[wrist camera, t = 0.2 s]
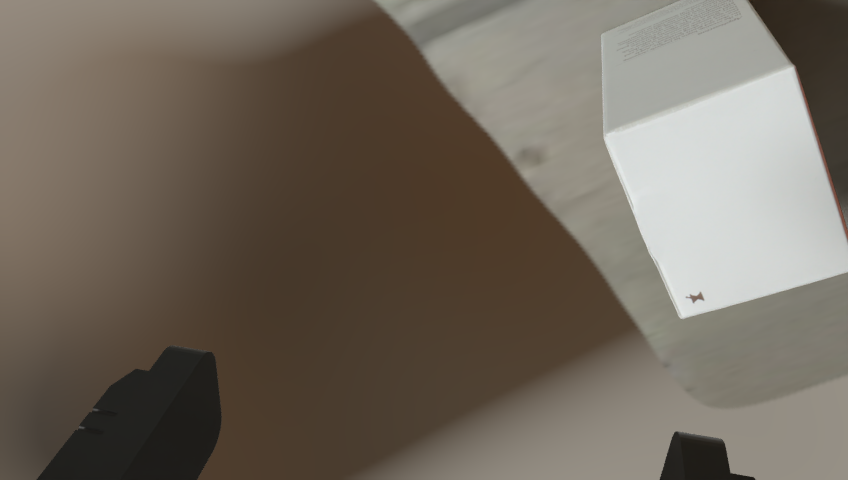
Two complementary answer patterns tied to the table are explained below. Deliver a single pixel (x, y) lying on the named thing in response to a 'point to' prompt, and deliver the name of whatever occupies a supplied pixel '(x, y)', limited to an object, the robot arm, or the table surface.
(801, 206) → the small box
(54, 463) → the robot arm
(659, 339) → the table surface
